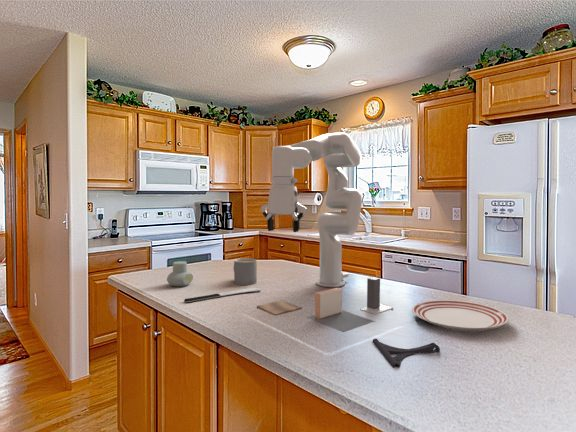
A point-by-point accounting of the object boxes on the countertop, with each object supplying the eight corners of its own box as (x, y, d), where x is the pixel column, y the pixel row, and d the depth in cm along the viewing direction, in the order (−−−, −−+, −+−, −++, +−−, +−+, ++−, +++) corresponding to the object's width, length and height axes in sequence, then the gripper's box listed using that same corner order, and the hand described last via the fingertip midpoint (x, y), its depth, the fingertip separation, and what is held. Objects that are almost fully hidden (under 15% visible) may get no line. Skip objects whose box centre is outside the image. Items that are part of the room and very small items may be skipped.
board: (281, 302, 135) (281, 300, 135) (301, 310, 126) (301, 307, 126) (256, 308, 128) (256, 305, 128) (275, 317, 120) (275, 314, 120)
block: (337, 311, 124) (337, 287, 123) (342, 312, 122) (342, 288, 121) (315, 317, 117) (315, 292, 117) (320, 319, 116) (320, 294, 115)
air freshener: (180, 289, 155) (180, 265, 154) (164, 287, 158) (163, 264, 157) (195, 283, 165) (195, 260, 164) (180, 281, 168) (179, 259, 167)
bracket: (454, 367, 87) (454, 355, 87) (392, 370, 85) (393, 358, 85) (425, 342, 101) (425, 332, 101) (372, 345, 100) (372, 334, 99)
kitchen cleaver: (251, 285, 159) (262, 287, 150) (251, 289, 159) (263, 291, 150) (178, 296, 142) (187, 300, 133) (179, 301, 142) (187, 304, 133)
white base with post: (360, 311, 125) (360, 279, 124) (378, 306, 131) (379, 275, 130) (374, 316, 120) (375, 283, 120) (393, 310, 126) (393, 278, 126)
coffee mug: (260, 283, 164) (260, 260, 164) (239, 286, 159) (239, 263, 159) (247, 277, 176) (247, 256, 175) (228, 279, 171) (227, 258, 170)
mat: (336, 310, 126) (336, 308, 126) (374, 323, 114) (374, 321, 114) (306, 319, 118) (306, 317, 118) (343, 333, 105) (343, 331, 105)
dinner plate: (409, 330, 108) (409, 319, 108) (414, 304, 134) (414, 295, 134) (517, 344, 98) (518, 332, 98) (500, 313, 124) (501, 303, 123)
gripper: (310, 182, 129) (310, 231, 130) (265, 182, 136) (266, 229, 137) (301, 181, 122) (302, 233, 123) (255, 182, 129) (256, 231, 130)
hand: (283, 231), depth 130 cm, fingers open, 9 cm apart
